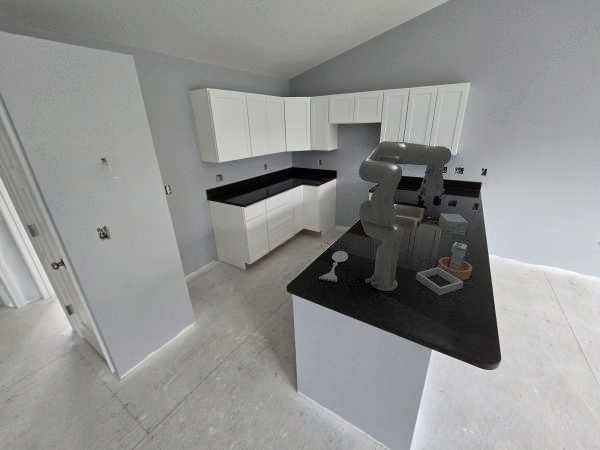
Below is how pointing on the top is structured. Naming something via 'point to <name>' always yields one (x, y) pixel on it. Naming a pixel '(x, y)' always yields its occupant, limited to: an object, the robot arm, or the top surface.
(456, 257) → the syrup box
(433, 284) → the parts tray
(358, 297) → the top surface
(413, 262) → the top surface
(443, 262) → the bowl
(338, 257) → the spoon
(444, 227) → the supplement box
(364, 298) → the top surface
